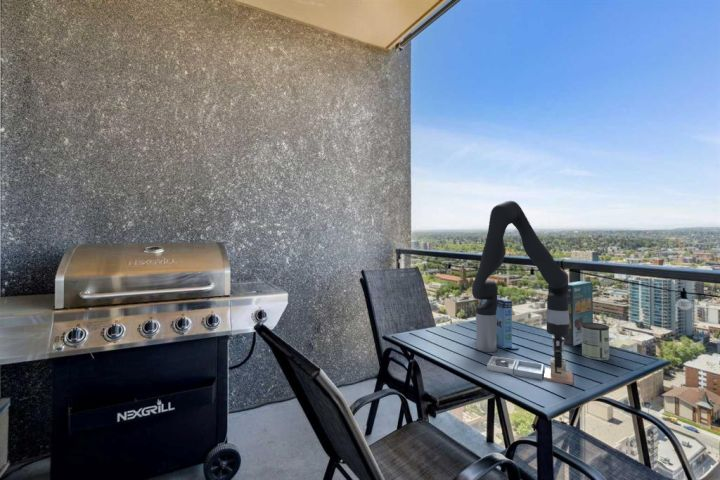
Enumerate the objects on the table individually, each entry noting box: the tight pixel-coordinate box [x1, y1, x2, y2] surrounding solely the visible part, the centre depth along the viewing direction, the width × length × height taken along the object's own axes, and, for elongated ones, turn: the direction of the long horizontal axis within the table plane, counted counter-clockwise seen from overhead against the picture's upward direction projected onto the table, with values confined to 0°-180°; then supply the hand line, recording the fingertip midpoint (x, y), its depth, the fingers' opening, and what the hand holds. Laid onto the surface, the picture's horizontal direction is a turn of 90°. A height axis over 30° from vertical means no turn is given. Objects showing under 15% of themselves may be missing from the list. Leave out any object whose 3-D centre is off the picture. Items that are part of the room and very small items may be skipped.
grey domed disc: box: [496, 359, 509, 367], centre depth 138 cm, size 5×5×2 cm
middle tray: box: [513, 359, 545, 381], centre depth 133 cm, size 12×10×2 cm
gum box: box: [480, 296, 513, 349], centre depth 173 cm, size 20×5×23 cm, turn 13°
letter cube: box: [550, 357, 567, 378], centre depth 128 cm, size 5×5×5 cm
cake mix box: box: [562, 280, 594, 347], centre depth 174 cm, size 22×6×30 cm, turn 123°
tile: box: [543, 367, 574, 386], centre depth 128 cm, size 11×9×1 cm
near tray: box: [486, 355, 518, 375], centre depth 138 cm, size 12×10×2 cm
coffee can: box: [581, 322, 610, 361], centre depth 150 cm, size 10×10×14 cm
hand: (558, 363), depth 128 cm, fingers open, 8 cm apart
